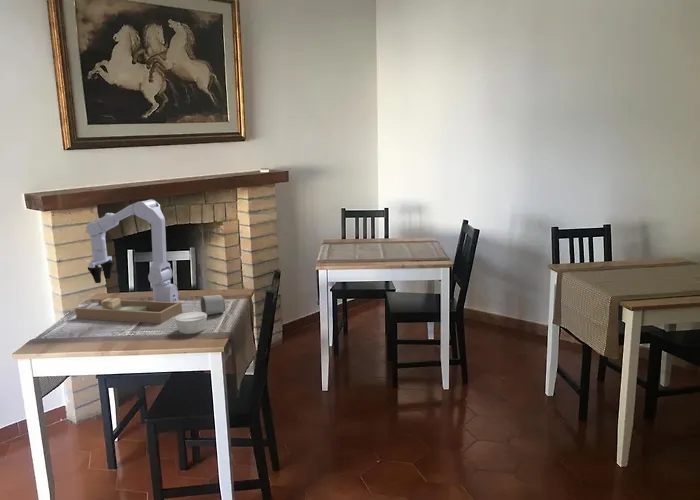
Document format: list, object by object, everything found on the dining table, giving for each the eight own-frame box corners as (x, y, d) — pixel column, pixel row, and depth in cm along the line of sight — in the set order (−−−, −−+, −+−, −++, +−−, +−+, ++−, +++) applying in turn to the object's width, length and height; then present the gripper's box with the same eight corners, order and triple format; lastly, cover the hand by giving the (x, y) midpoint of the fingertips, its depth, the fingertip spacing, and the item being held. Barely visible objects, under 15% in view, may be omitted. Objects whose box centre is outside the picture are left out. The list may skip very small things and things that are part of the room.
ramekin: (191, 337, 203) (190, 322, 202) (169, 332, 209) (168, 318, 208) (214, 327, 212) (213, 313, 211) (193, 323, 218) (191, 310, 217)
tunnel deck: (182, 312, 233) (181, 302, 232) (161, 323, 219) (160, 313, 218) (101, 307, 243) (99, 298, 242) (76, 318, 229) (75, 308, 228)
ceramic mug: (226, 314, 228) (225, 295, 227) (206, 317, 224) (204, 298, 222) (218, 308, 237) (216, 290, 236) (198, 312, 233) (196, 293, 231)
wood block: (121, 307, 234) (120, 298, 234) (113, 311, 230) (111, 301, 229) (110, 307, 236) (109, 297, 235) (102, 310, 231) (101, 301, 230)
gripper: (99, 246, 253) (103, 276, 256) (80, 252, 239) (84, 284, 242) (114, 246, 252) (118, 276, 255) (96, 252, 238) (100, 284, 241)
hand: (102, 280), depth 248 cm, fingers open, 7 cm apart
